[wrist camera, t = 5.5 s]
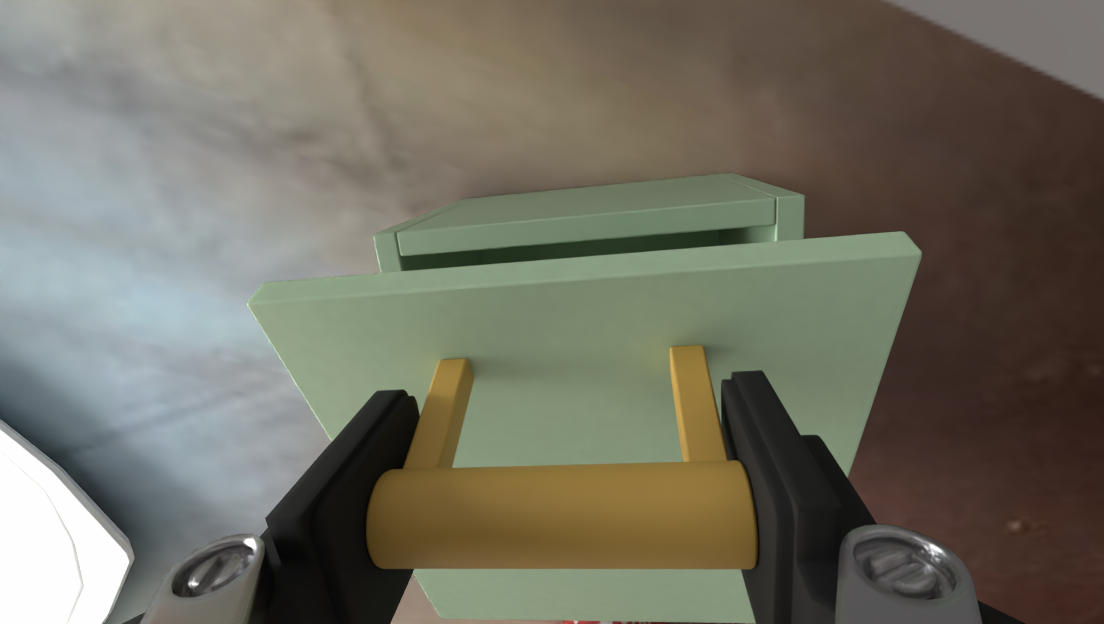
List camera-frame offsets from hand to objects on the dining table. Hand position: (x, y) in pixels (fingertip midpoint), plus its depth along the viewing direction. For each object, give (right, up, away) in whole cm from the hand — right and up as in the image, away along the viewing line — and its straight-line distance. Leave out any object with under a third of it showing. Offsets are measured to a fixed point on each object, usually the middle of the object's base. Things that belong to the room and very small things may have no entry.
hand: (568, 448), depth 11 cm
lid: (+1, -2, +5) cm, 5 cm away
